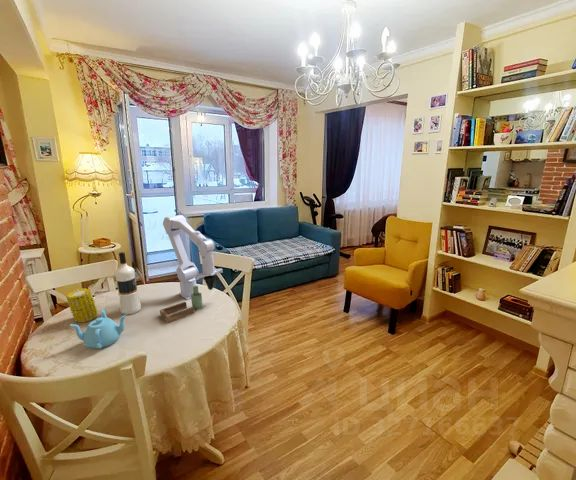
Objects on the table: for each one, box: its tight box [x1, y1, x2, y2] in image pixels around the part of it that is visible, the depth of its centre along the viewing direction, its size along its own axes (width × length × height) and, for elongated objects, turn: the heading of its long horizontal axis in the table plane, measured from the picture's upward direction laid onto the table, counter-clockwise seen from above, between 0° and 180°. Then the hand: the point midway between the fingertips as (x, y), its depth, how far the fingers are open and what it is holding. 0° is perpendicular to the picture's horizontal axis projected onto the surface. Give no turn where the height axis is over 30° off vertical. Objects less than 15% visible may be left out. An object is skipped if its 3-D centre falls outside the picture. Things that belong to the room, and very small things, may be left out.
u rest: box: [159, 301, 195, 324], centre depth 142 cm, size 9×13×3 cm
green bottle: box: [190, 285, 204, 311], centre depth 148 cm, size 5×5×11 cm
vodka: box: [114, 251, 142, 316], centre depth 144 cm, size 9×9×30 cm
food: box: [65, 287, 98, 323], centre depth 139 cm, size 15×12×10 cm
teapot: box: [69, 308, 128, 350], centre depth 121 cm, size 15×15×10 cm
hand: (210, 289), depth 153 cm, fingers closed
